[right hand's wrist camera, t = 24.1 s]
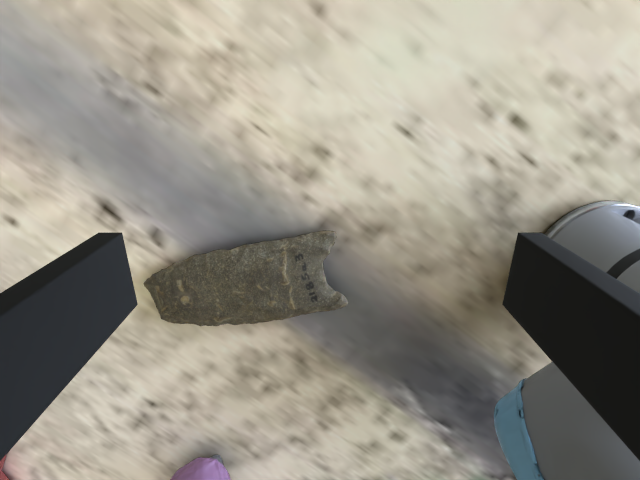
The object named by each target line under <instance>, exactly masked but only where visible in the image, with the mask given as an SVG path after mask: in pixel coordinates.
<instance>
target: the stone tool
mask: <svg viewBox="0 0 640 480" xmlns="http://www.w3.org/2000/svg"><path fill="white" fill-rule="evenodd" d="M335 239H336V232H334V231H319V232H312V233H310V234H304V235H299V236H296V237H294V238H284V239H281V240H273V241H262V242H259V243H254V244H245V245H242V246H239V247H236V248H233V249H231V250H224V249H221V250H220V249H218V250H215V251H211V252H209V253H207V254H201V255H193V256H191V257H189V258H188V259H185V260H182V261H180V262H177V263H173V264H172V265H171V266H169V267H167V268H166V269H162V270H161V271H159V272H157V273H155V274H153V275H152V276H151V277H150V278H148V279H147V280H146V281H145V282H144V286H145V287H146V288H147V289H148V290H149V292H150V293H151V296H152V298H153V300H154V302H155V304H156V307H157V309H158V311H159V313H160V316H161V319H163V320H165V321H167V322H172V323H179V324H185V323H189V324H196V325H199V326H204V325H207V326H219V325H222V324H227V323H228V324H232V325H239V324H244V323H246V324H247V323H250V324H254V323H259V322H268V321H272V320H283V319H286V318H291V317H295V316H299V315H302V314H309V313H314V312H321V311H330V310H336V309H338V308H343V307H345V306H347V305H348V301H347V299H346V297H345V296H344V295H343V294H341V293H339V292H338V291H334V290H333V289H332V288H331V287H330V286H329V285H328V284H327V281H326V277H325V274H324V269H323V264H322V263H323V261H324V260H325V258H326V257H327V256H328V255H329V254H330V248H331V247H332V246H333V245H334V243H335V242H334V241H335Z"/></svg>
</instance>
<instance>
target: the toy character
mask: <svg viewBox="0 0 640 480" xmlns="http://www.w3.org/2000/svg"><path fill="white" fill-rule="evenodd" d="M170 480H231V479H230V476H229V473H228V472H227V470H226V468H225V467H224V464H223V460H222V458H221V456H220V455H214V456H212V457H210V458H200V457H199V458H196V459H194V460H193V461H191V462H190V463H188V464H186V465H184V466H183V467H181V468H180V469H178V470H177V471H176V472H175V474H174V475H173V477H172V478H171V479H170Z"/></svg>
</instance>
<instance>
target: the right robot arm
mask: <svg viewBox="0 0 640 480" xmlns="http://www.w3.org/2000/svg"><path fill="white" fill-rule="evenodd" d="M137 305H138V304H137V300H136V295H135V291H134V286H133V281H132V277H131V272H130V268H129V263H128V258H127V254H126V249H125V244H124V240H123V235H122V233H98V234H96V235H94V236H93V237H91V238H89V239H88V240H86V241H85V242H83V243H81V244H80V245H78V246H77V247H75V248H73V249H72V250H70V251H68V252H67V253H65V254H64V255H62V256H60V257H59V258H57V259H55V260H54V261H52V262H51V263H49V264H47V265H46V266H44V267H42V268H41V269H39V270H38V271H36V272H34V273H33V274H31V275H29V276H28V277H26V278H25V279H23V280H21V281H20V282H18V283H16V284H15V285H13V286H12V287H10V288H8V289H7V290H5V291H3V292H2V293H0V461H1V460H2V459H3V457H4V456H5V455H6V454H7V453H8V452H9V451H10V449H11V448H12V447H13V446H14V445H15V444H16V443H17V441H18V440H19V439H20V438H21V437H22V436H23V435H24V433H25V432H26V431H27V430H28V429H29V428H30V427H31V425H32V424H33V423H34V422H35V421H36V420H37V419H38V417H39V416H40V415H41V414H42V413H43V412H44V411H45V409H46V408H47V407H48V406H49V405H50V404H51V403H52V401H53V400H54V399H55V398H56V397H57V396H58V395H59V394H60V392H61V391H62V390H63V389H64V388H65V387H66V386H67V384H68V383H69V382H70V381H71V380H72V379H73V378H74V376H75V375H76V374H77V373H78V372H79V371H80V370H81V368H82V367H83V366H84V365H85V364H86V363H87V362H88V360H89V359H90V358H91V357H92V356H93V355H94V354H95V352H96V351H97V350H98V349H99V348H100V347H101V346H102V344H103V343H104V342H105V341H106V340H107V339H108V338H109V336H110V335H111V334H112V333H113V332H114V331H115V330H116V328H117V327H118V326H119V325H120V324H121V323H122V322H123V321H124V319H125V318H126V317H127V316H128V315H129V314H130V313H131V311H132V310H133V309H134V308H135V307H136V306H137ZM502 305H503V306H504V307H505V308H506V309H507V310H508V311H509V313H510V314H511V315H512V316H513V317H514V318H515V319H516V321H517V322H518V323H519V324H520V325H521V326H522V327H523V328H524V330H525V331H526V332H527V333H528V334H529V335H530V336H531V338H532V339H533V340H534V341H535V342H536V343H537V344H538V346H539V347H540V348H541V349H542V350H543V351H544V352H545V354H546V355H547V356H548V357H549V358H550V359H551V360H552V362H551V363H550V364H548V365H547V366H545V367H544V368H542V369H541V370H539V371H538V372H536V373H535V374H533V375H532V376H530V377H529V378H526V379H523V380H521V381H520V382H519V384H518V386H517V387H515V388H514V389H513V390H512V391H511V392H509V393H508V394H507V395H505V396H504V397H503V398H501V399H500V400H499V401H498V403H497V404H496V406H495V410H494V422H495V424H494V425H495V429H496V433H497V436H498V439H499V442H500V445H501V447H502V450H503V452H504V455H505V457H506V459H507V461H508V463H509V465H510V467H511V469H512V471H513V473H514V475H515V476H516V478H517V480H640V207H637V206H634V205H631V204H629V203H625V202H620V201H601V202H595V203H591V204H588V205H585V206H582V207H580V208H577V209H575V210H573V211H571V212H570V213H568V214H566V215H565V216H563V217H562V218H561V219H559V220H558V221H557V222H556V223H555V224H553V225H552V226H551V227H550V228H549V229H548V231H547V232H546V233H545V234H542V233H518V235H517V240H516V244H515V249H514V254H513V258H512V263H511V268H510V272H509V277H508V281H507V286H506V291H505V295H504V300H503V304H502Z"/></svg>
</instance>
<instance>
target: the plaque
mask: <svg viewBox="0 0 640 480" xmlns="http://www.w3.org/2000/svg"><path fill="white" fill-rule="evenodd" d="M5 459H6V455H5V456H4V457H3V459H2V460H1V461H0V480H9V479H8V478H7V476H6V475H5V474H4V473H3V471H2V468H3V465H4V462H5Z"/></svg>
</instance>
